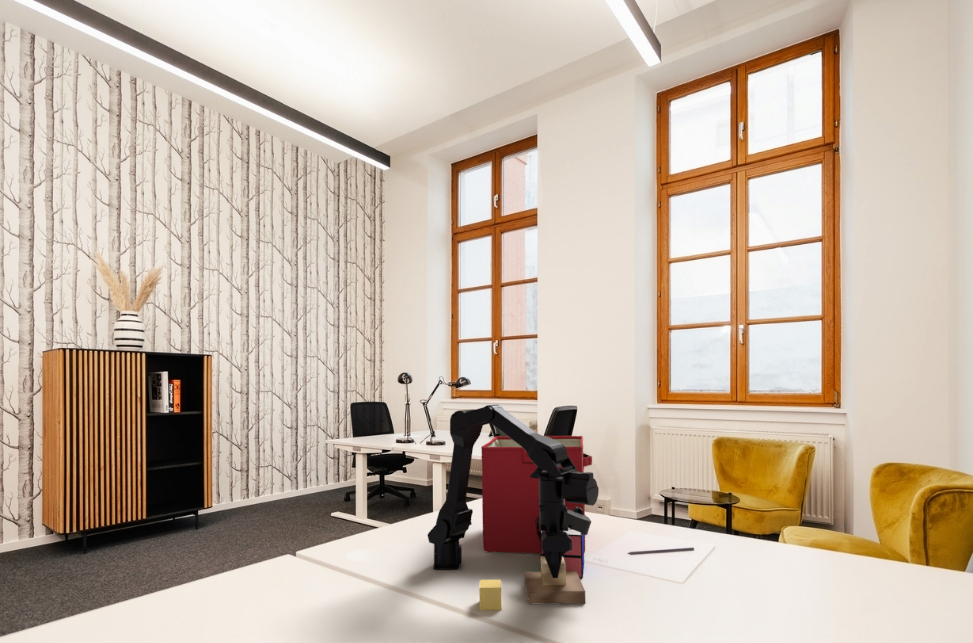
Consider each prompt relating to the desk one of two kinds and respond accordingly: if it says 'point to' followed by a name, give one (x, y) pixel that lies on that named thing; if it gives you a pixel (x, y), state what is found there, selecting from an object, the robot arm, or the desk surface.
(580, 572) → the puzzle cube
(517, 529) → the storage cube
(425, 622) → the desk surface
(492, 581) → the mustard block
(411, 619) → the desk surface
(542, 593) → the walnut base
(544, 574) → the oak block
